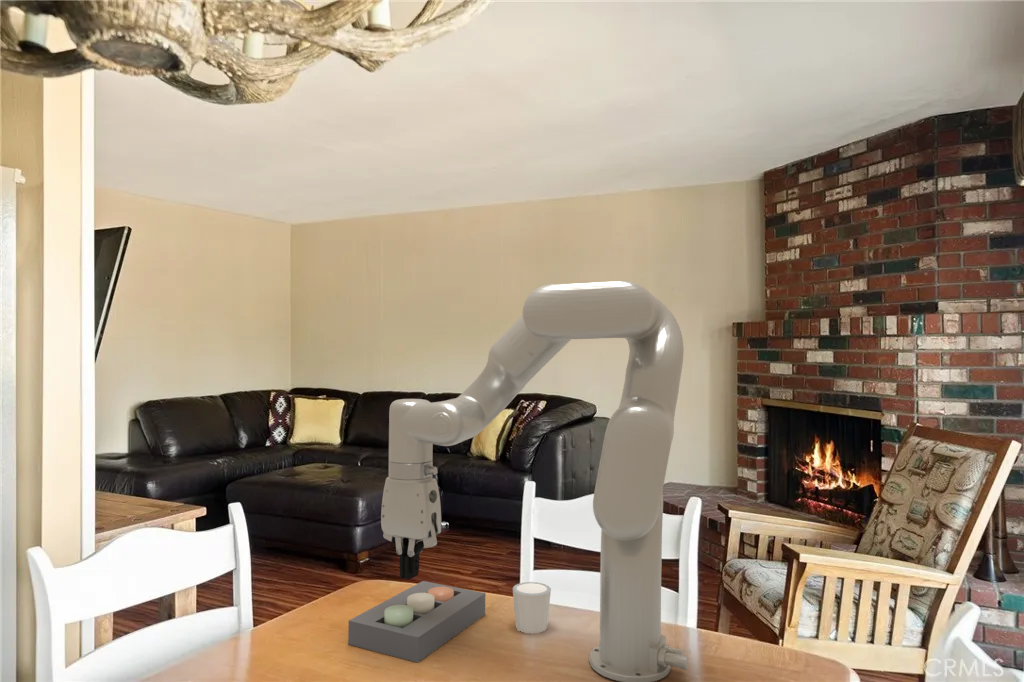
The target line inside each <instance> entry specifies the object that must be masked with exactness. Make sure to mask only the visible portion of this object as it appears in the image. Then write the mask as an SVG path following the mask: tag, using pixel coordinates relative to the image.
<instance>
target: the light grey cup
mask: <svg viewBox="0 0 1024 682" xmlns="http://www.w3.org/2000/svg"><path fill="white" fill-rule="evenodd" d="M551 591H552V588H551V587H550V586H549V585H547V584H545V583H542V582H534V581H527V582H526V581H525V582H520V583H517V584H515V585H513V587H512V596H513V610H514V623H515V624H514V625H515V629H516V628H517V629H516V630H517V631H519V632H520V631H521V632H520V633H523V632H524V633H523V634H529V633H531V634H534V633H535V634H541V633H543V631H544V632H545V631H547V629H548V622H549V612H550V603H551V601H550V600H551ZM540 632H541V633H540ZM531 634H530V635H531Z"/></svg>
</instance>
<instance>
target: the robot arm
mask: <svg viewBox="0 0 1024 682" xmlns="http://www.w3.org/2000/svg"><path fill="white" fill-rule="evenodd" d="M594 339H595V340H596V339H625V340H626V342H627V343H628V348H629V349H628V350H629V352H628V353H629V354H628V360H627V364H626V368H625V369H626V370H625V376H624V377H625V378H624V383H623V388H622V394H621V397H620V403H619V406H618V408H617V409H616V410H615V411H614V412H613V413H612V415H611V416H610V419H609V420H608V423H607V425H606V429H605V434H604V438H603V443H602V448H601V453H600V454H601V455H600V459H599V464H598V471H597V476H596V479H595V480H596V482H595V487H594V491H593V492H594V493H593V499H592V500H593V501H592V512H593V515H594V518H595V520H596V521H595V522H596V523H597V525H598V526H599V528H600V529H601V533H600V535H601V536H600V570H599V571H600V573H599V574H600V581H599V582H600V585H599V591H600V593H599V602H600V604H599V644H598V645H596V646H595V647H593V648H592V650H591V651H590V653H589V664H590V666H591V667H592V669H593V670H594V671H595V672H596V673H598V674H600V675H601V676H602V677H605V678H607V679H610V680H614V681H616V682H657V681H659V680H662V679H664V678H665V677H667V676H668V675H669V674H670V672H671V666H672V667H675V668H677V669H682V670H688V666H689V656H688V655H684V654H685V653H684V649H682V648H677V647H670V645H669V644H667V636H666V635H663V634H661V633H662V632H661V631H662V626H661V625H662V567H663V566H662V563H663V561H662V557H663V556H662V554H663V553H662V551H663V550H662V549H663V545H662V543H663V520H664V519H663V518H664V517H663V516H664V514H663V513H664V494H663V493H664V492H663V489H664V486H665V485H664V484H665V480H666V474H667V473H666V472H667V469H668V464H669V459H670V458H669V457H670V453H671V447H672V443H673V439H674V434H675V425H674V424H675V423H674V422H675V416H676V408H677V402H678V398H679V397H678V396H679V392H680V391H679V390H680V382H681V377H682V369H683V364H684V363H683V362H684V339H683V334H682V330H681V328H680V326H679V323H678V321H677V318H676V317H675V315H674V314H673V312H672V311H671V310H670V309H669V307H667V306H666V305H665V304H664V303H663V302H662V301H661V300H659V298H657V297H656V296H655V295H653V294H652V293H651V292H650V291H649V290H648V289H646V288H645V287H644V286H643V285H641V284H640V283H636V282H634V281H630V280H610V281H593V282H591V281H590V282H576V283H553V284H550V283H549V284H544V285H542V286H539V287H537V288H535V289H534V290H533V291H532V292H530V293H529V295H528V296H527V298H526V299H525V301H524V304H523V306H522V315H521V316H520V317H519V318H518V319H517V320H516V321H515V322H514V323H513V324H512V325H511V326H510V327H509V328H508V329H507V330H506V331H505V332H504V333H503V334H502V336H500V338H499V339H497V340H496V341H495V342H494V343H493V345H492V346H491V347H490V349H489V352H488V357H487V362H486V365H485V367H484V368H483V370H482V372H481V373H480V374H479V375H478V376H477V378H475V380H474V381H473V382H472V383H471V384H470V385H469V386H468V387H467V388H466V389H465V390H464V391H463V392H461V394H460V395H458V396H457V397H456V398H450V399H447V400H441V401H435V402H434V401H432V402H431V401H429V400H427V399H422V398H401V399H396V400H394V401H392V402H391V404H390V406H389V412H388V414H389V415H388V418H389V420H388V421H389V423H388V476H387V477H386V478H385V483H384V487H383V493H382V501H381V509H380V510H381V511H380V512H381V513H380V523H381V524H380V525H381V530H382V533H383V535H382V536H383V538H384V539H385V540H387V541H389V542H391V543H392V544H393V546H394V547H395V550H396V554H397V555H399V578H400V579H401V580H402V579H403V580H407V581H409V580H412V579H414V578H415V577H417V576H418V575H419V572H420V554H421V553H422V552H423V550H425V549H427V548H432V547H436V546H437V544H438V540H437V536H438V535H439V534H441V532H442V510H441V509H442V508H441V507H442V506H441V497H440V490H439V485H438V481H437V479H436V478H433V475H435V476H436V475H437V474H438V467H436V466H434V465H433V464H434V462H433V457H434V456H433V446H434V445H436V446H442V447H450V446H451V447H452V446H454V445H458V444H459V443H463V442H465V441H468V440H469V439H472V438H474V437H476V436H478V435H479V434H480V433H481V432H483V430H485V428H486V427H487V426H488V425H490V424H491V423H492V422H493V421H494V419H496V418H497V417H498V416H499V415H500V414H501V413H502V412H503V411H504V410H505V409H506V408H507V406H509V405H510V403H512V401H513V400H514V399H515V397H517V395H518V394H519V393H520V392H522V391H523V389H524V388H525V387H526V385H528V383H529V382H530V381H531V380H532V379H533V378H534V377H535V376H536V375H537V374H538V373H539V372H540V371H541V370H542V369H543V368H544V367H545V366H546V365H547V364H548V363H549V362H550V361H551V360H552V359H553V358H554V357H555V356H556V355H557V354H558V353H559V352H560V351H561V350H562V349H564V347H565V346H566V345H567V344H568V343H569V342H570V341H572V340H594Z"/></svg>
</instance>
